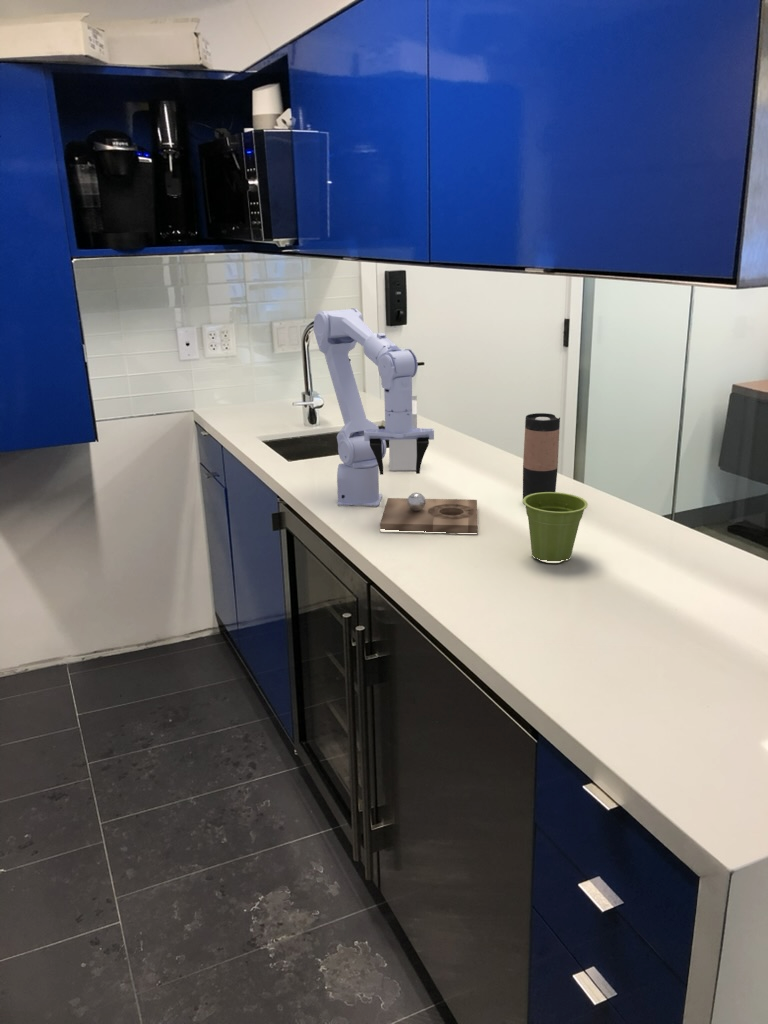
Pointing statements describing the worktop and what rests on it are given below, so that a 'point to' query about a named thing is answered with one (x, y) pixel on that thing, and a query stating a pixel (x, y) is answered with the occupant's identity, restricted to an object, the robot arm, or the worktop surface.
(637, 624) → the worktop surface
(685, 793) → the worktop surface
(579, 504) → the plant pot
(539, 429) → the travel mug
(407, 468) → the milk carton
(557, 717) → the worktop surface
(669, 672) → the worktop surface
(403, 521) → the deck
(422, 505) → the ball
